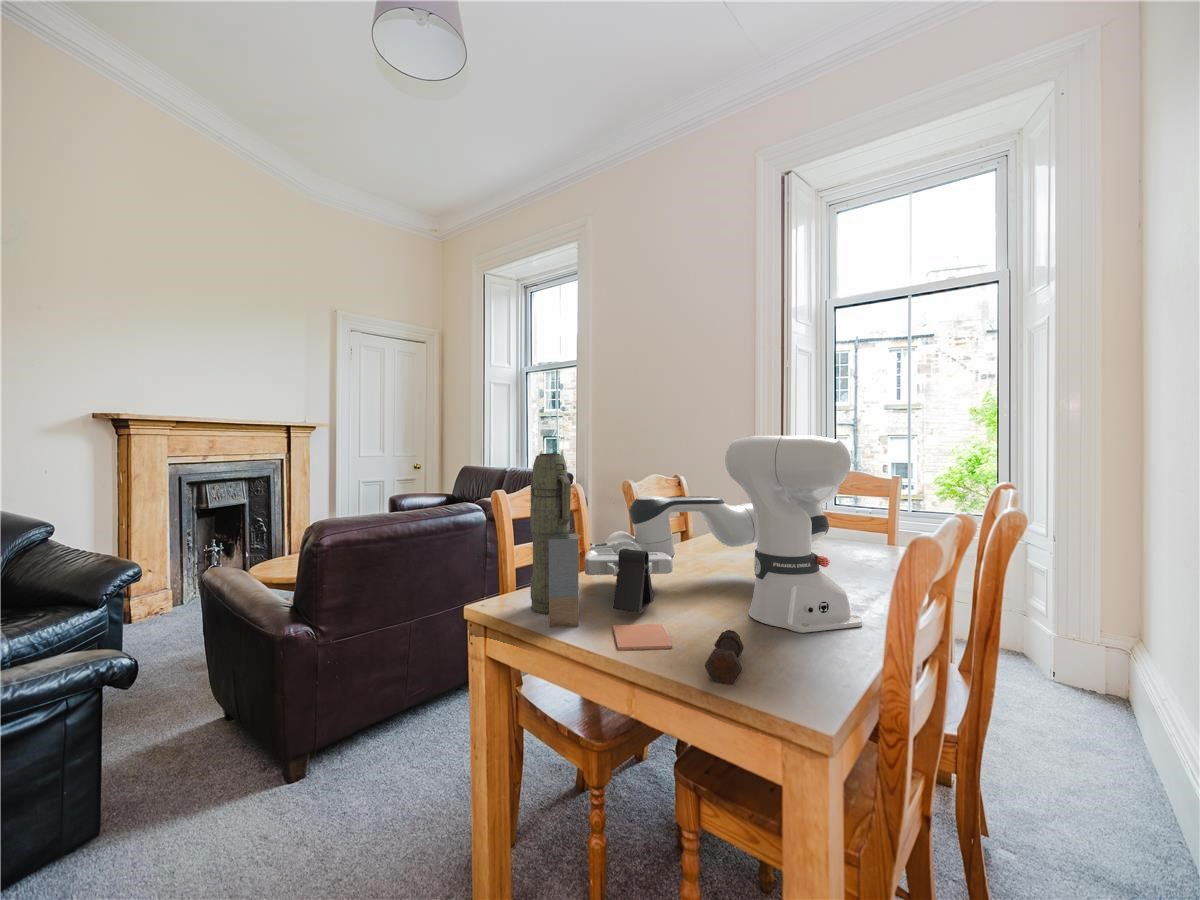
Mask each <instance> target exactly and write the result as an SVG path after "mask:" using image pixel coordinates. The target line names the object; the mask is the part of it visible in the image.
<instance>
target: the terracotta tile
mask: <svg viewBox="0 0 1200 900" xmlns="http://www.w3.org/2000/svg"><path fill="white" fill-rule="evenodd" d="M612 628H613V634H614V638H615V642H616V647H617V650H622V651H625V650H654V649H655V650H659V649H660V650H663V649H673V644H672V642H671V640H670V638H669V636H668V633H667V632H666V630H665V626H663V624H662V623H659V624H658V623H656V624H655V623H653V624H646V623H645V624H614V625H612Z"/></svg>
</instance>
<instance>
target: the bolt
mask: <svg viewBox="0 0 1200 900" xmlns="http://www.w3.org/2000/svg"><path fill="white" fill-rule="evenodd" d="M714 647H715V648H714V649H713V650H712V652H711V653H710V654H709V656H708V658H707V660H706V661H705V663H704V668H705V670H706V672H707V675H708V676H709V678H710V680H711V681H712V683H715V684H720V685H725V686H733V685H734V684H735V682H737V680H738V678H739V677H740V676H741V674H742V671H743V665H742V664H741V662H740V660H739V657H740V655H741V654H742V652H743V651H744V648H745V646H744V644H743V641H742V640H741V635H739V633H737V632H736V631H734V630H732V629H726V630H725V631H722V632H721V633H720V635H719V636H718V637H717V639H716V641H715V642H714Z"/></svg>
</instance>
